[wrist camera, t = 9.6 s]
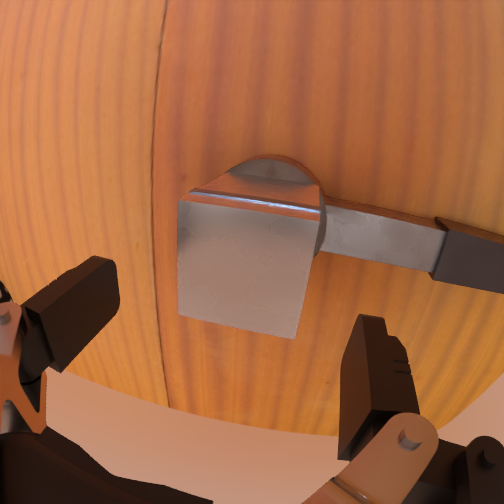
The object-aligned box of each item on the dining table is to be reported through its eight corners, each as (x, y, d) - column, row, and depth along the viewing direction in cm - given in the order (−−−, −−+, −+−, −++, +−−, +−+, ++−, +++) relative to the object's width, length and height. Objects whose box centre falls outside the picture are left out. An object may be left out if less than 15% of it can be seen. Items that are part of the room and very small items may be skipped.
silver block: (320, 184, 16) (321, 220, 10) (304, 270, 18) (296, 340, 12) (226, 171, 17) (176, 198, 11) (220, 255, 19) (177, 315, 13)
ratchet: (523, 218, 16) (577, 255, 10) (493, 299, 19) (531, 353, 13) (224, 148, 19) (179, 161, 13) (216, 247, 22) (175, 298, 16)
